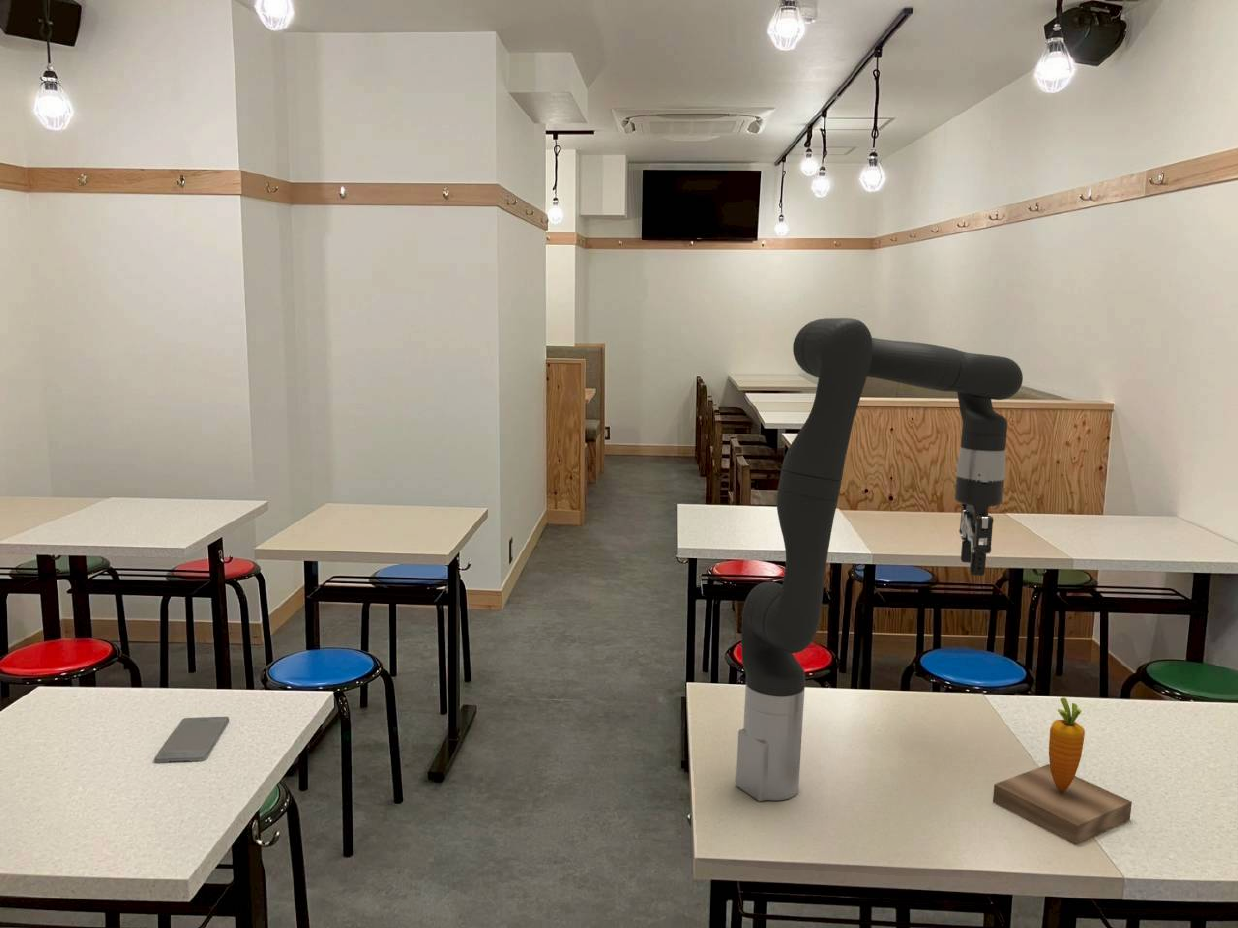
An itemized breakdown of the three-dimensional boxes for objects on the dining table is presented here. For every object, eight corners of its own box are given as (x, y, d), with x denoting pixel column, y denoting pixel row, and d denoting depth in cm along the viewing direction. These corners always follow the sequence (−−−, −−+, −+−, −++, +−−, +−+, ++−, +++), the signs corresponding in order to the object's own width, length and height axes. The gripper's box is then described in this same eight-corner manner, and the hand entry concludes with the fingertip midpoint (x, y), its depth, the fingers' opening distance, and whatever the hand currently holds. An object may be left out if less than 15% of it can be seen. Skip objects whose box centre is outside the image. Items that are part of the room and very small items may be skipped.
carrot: (1082, 801, 144) (1092, 708, 141) (1047, 797, 145) (1057, 705, 142) (1074, 786, 149) (1083, 695, 146) (1040, 782, 150) (1049, 692, 147)
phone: (152, 766, 154) (152, 759, 154) (182, 724, 170) (182, 717, 170) (205, 764, 155) (205, 756, 155) (230, 722, 171) (230, 716, 171)
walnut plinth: (1075, 844, 137) (1077, 825, 137) (992, 801, 149) (994, 784, 149) (1129, 819, 145) (1131, 801, 144) (1046, 780, 157) (1048, 763, 156)
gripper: (950, 467, 167) (942, 556, 169) (964, 480, 153) (956, 577, 155) (994, 469, 166) (986, 559, 168) (1013, 483, 152) (1004, 581, 154)
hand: (972, 568), depth 162 cm, fingers open, 8 cm apart
